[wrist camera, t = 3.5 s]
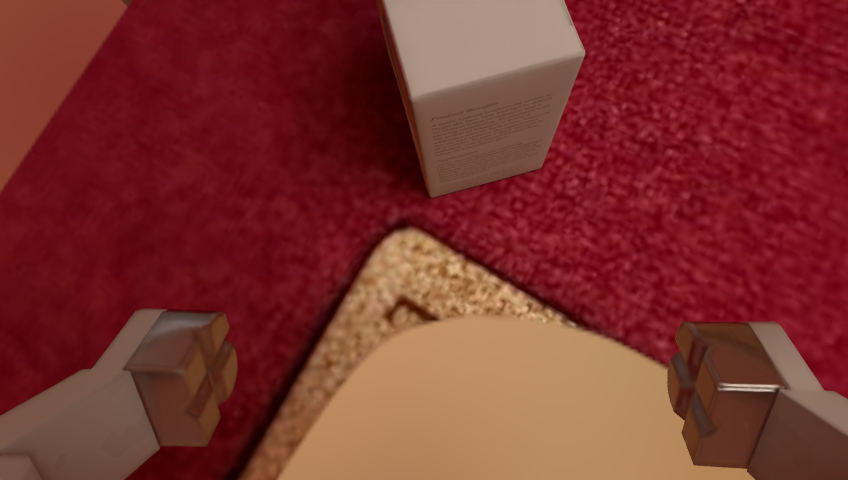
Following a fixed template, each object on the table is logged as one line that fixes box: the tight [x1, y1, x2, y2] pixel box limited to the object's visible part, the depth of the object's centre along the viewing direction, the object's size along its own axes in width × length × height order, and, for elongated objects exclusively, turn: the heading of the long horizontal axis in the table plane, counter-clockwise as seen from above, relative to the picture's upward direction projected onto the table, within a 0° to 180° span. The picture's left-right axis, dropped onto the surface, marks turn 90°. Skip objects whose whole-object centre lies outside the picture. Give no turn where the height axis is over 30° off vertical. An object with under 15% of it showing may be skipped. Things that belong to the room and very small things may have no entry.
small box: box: [376, 0, 585, 197], centre depth 24 cm, size 8×6×10 cm
